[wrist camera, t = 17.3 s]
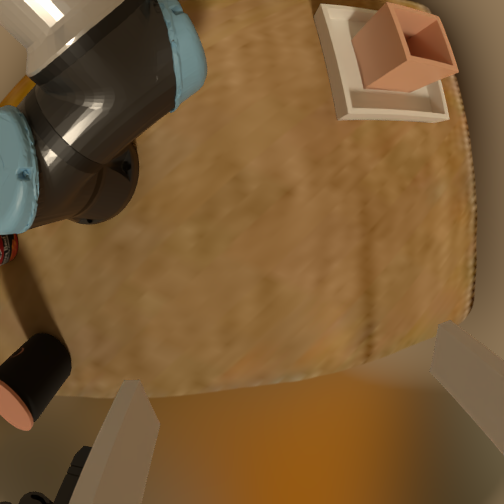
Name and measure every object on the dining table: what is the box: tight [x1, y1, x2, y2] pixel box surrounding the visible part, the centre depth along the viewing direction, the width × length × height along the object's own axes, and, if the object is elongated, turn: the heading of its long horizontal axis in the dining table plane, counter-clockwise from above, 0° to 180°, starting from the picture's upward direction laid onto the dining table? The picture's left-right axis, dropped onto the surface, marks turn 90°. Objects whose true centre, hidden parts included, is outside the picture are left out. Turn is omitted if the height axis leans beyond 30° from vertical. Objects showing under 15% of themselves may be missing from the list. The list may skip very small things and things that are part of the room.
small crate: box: [351, 2, 459, 93], centre depth 29 cm, size 9×9×13 cm
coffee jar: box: [0, 333, 71, 431], centre depth 36 cm, size 11×11×18 cm
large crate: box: [313, 4, 449, 123], centre depth 34 cm, size 19×19×4 cm
